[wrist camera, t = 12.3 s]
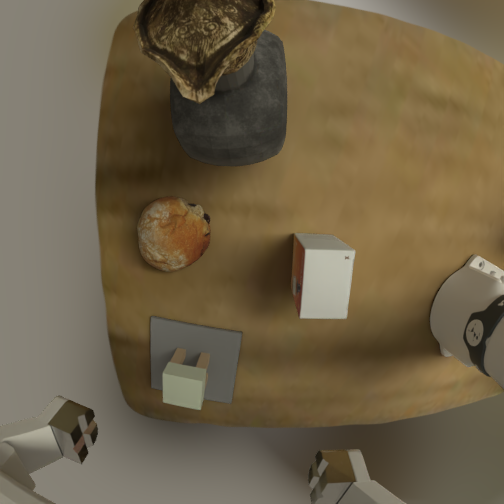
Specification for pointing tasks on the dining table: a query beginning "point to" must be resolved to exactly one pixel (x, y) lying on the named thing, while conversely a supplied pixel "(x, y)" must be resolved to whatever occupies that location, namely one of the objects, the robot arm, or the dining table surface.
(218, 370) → the mat
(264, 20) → the grey tall rounded piece
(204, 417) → the dining table surface
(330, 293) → the small box
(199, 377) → the stool
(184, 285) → the dining table surface
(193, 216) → the bread roll
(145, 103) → the dining table surface
